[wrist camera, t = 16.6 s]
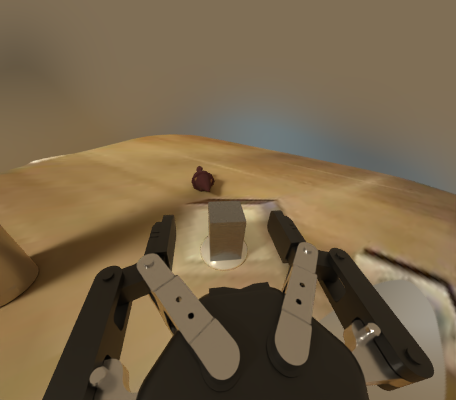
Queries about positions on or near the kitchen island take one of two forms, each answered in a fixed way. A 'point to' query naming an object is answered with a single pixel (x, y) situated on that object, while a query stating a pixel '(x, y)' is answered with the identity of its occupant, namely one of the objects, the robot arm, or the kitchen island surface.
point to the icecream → (202, 180)
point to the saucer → (221, 264)
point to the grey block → (226, 230)
